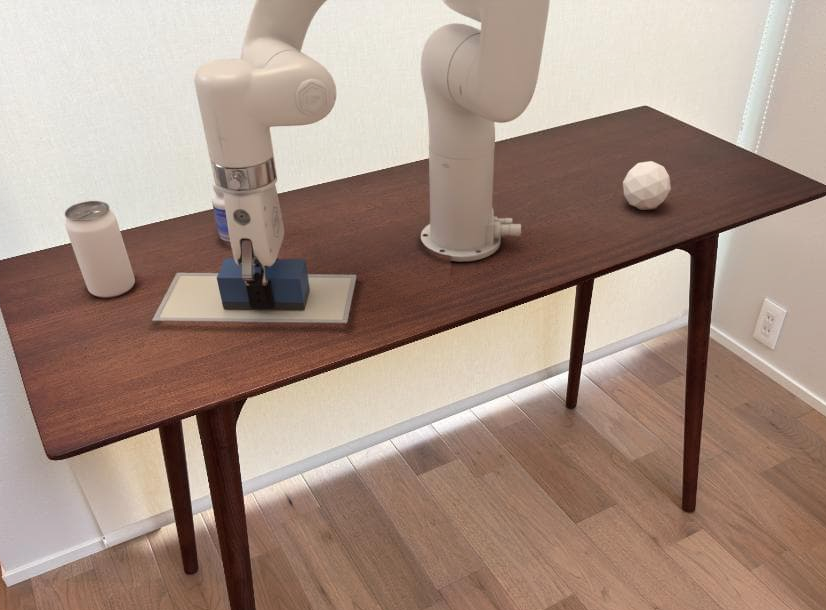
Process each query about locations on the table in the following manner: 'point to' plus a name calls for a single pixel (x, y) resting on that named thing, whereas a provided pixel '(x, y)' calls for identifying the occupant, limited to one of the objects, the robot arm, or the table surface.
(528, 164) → the table surface
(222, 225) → the pill bottle
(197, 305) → the whiteboard
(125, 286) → the can
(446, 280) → the table surface
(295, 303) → the eraser
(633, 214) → the table surface
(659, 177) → the geometric ball
